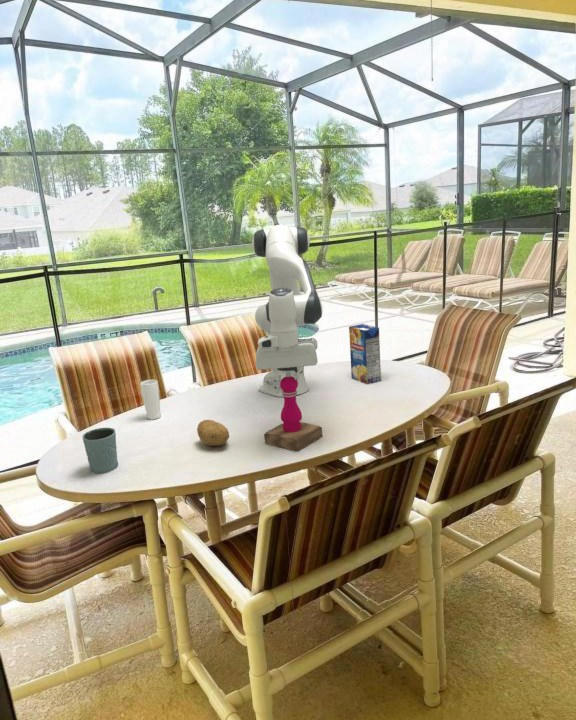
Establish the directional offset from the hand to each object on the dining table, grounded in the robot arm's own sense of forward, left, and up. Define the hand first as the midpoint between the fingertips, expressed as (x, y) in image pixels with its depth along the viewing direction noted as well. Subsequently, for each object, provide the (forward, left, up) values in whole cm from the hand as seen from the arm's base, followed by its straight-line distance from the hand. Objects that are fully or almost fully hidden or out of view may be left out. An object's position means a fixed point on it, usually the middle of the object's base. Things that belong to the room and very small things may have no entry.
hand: (288, 380), depth 184 cm
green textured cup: (-41, -46, -22) cm, 66 cm away
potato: (-22, -15, -22) cm, 35 cm away
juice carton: (-13, +70, -22) cm, 74 cm away
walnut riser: (0, +1, -22) cm, 22 cm away
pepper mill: (-1, +1, -18) cm, 18 cm away
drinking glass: (-64, -8, -22) cm, 68 cm away
